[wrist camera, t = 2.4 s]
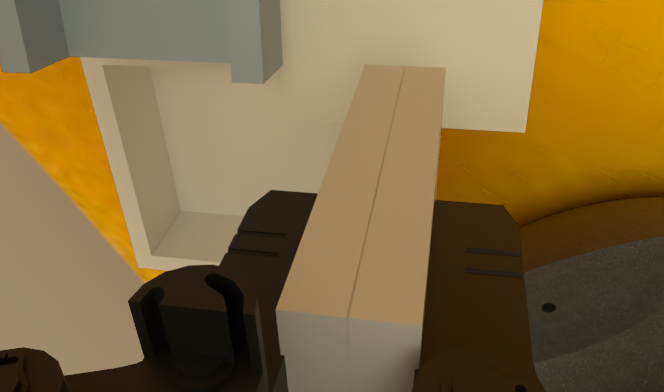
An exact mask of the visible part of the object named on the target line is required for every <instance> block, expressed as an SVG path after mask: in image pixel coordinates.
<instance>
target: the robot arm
mask: <svg viewBox="0 0 664 392" xmlns="http://www.w3.org/2000/svg"><path fill="white" fill-rule="evenodd" d="M445 72H446V68H441V67H416V66H392V65H367V64H365V66H364V69H363V71H362V74H361V77H360V80H359V82H358V85H357V88H356V91H355V93H354V96H353V99H352V102H351V104H350V107H349V110H348V113H347V115H346V118H345V121H344V124H343V126H342V129H341V132H340V134H339V137H338V140H337V143H336V145H335V148H334V151H333V154H332V156H331V159H330V162H329V165H328V167H327V170H326V173H325V176H324V178H323V181H322V184H321V187H320V189H319V192H318V193H306V192H293V191H280V190H270V191H269V192H268V193H266V194H265V195H264V196H263V197H261V198H260V199H259V200H258V201H256V202H255V203H254V204H253V205H251V206H250V207H249V208H248V210H247V212H246V214H245V216H244V218H243V220H242V222H241V224H240V226H239V227H238V229H237V234H235V235H234V237H233V239H232V241H231V243H230V245H229V247H228V253H225V255H224V257H223V259H222V261H221V263H220V265H219V266H217V265H188V266H185V267H181V268H178V269H174V270H171V271H167V272H164V273H162V274H161V275H159V276H157V277H156V278H154V279H152V280H150V281H149V282H147V283H145V284H143V285H142V287H141V288H140V289H139V290H138V291H137V292H136V293H135V294H134V295H133V296H132V297H131V298H130V299H129V301H128V303H129V306H130V310H131V313H132V316H133V320H134V323H135V327H136V330H137V334H138V337H139V340H140V344H141V347H142V351H143V354H144V359H143V361H141V362H139V363H137V364H132V365H128V366H124V367H120V368H114V369H107V370H100V371H94V372H87V373H81V374H73V375H66V376H64V375H63V372H62V370H61V367H60V365H59V362H58V361H57V360H56V359H54V358H53V357H51V356H50V355H48V354H47V353H46V352H45V351H41V350H35V349H30V348H24V347H23V348H16V349H10V350H2V351H0V392H547V391H546V390H545V389H544V387H543V385H542V383H541V382H540V380H539V378H538V376H537V374H536V370H535V367H534V363H533V357H532V347H531V337H530V327H529V317H528V307H527V297H526V287H525V279H524V267H523V257H522V247H521V237H520V228H519V226H518V225H517V224H516V222H515V221H514V220H513V218H512V217H511V216H510V214H509V213H508V212H507V210H506V209H505V208H504V206H503V205H492V204H479V203H466V202H453V201H440V200H436V194H437V181H438V168H439V154H440V140H441V127H442V113H443V99H444V86H445Z"/></svg>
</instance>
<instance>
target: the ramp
mask: <svg viewBox="0 0 664 392" xmlns="http://www.w3.org/2000/svg"><path fill="white" fill-rule="evenodd" d="M542 7H543V0H0V64H1V68H2V72H14V73H32V72H35V71H37V70H39V69H42V68H44V67H46V66H49V65H51V64H53V63H56V62H58V61H60V60H63V59H65V58H67V57H91V58H115V59H140V60H164V61H188V62H212V63H230V67H231V80H232V83H250V84H264V83H265V82H266V81H267V80H268V79H269V78H270V77H271V76H272V75H273V74H274V73H275V72H276V71H277V70H279V69H280V68H281V67H282V66H283V85H284V109H285V119H289V120H307V121H325V122H343V123H344V121H345V118H346V115H347V113H348V110H349V107H350V104H351V102H352V99H353V96H354V93H355V91H356V88H357V85H358V82H359V80H360V77H361V74H362V71H363V69H364V66H365V64H367V65H392V66H416V67H441V68H446V72H445V86H444V99H443V113H442V127H441V128H450V129H467V130H485V131H503V132H521V133H525V131H526V124H527V116H528V109H529V102H530V94H531V87H532V80H533V72H534V65H535V58H536V51H537V43H538V36H539V29H540V21H541V14H542Z"/></svg>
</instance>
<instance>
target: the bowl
mask: <svg viewBox="0 0 664 392" xmlns="http://www.w3.org/2000/svg"><path fill="white" fill-rule="evenodd" d="M519 228H520V237H521V247H522V257H523V267H524V279H525V287H526V297H527V307H528V317H529V327H530V337H531V347H532V357H533V363H534V367H535V370H536V374H537V376H538V378H539V380H540V382H541V383H542V385H543V387H544V389H545V390H546V391H547V392H664V197H648V198H632V199H623V200H614V201H606V202H601V203H595V204H590V205H585V206H581V207H577V208H573V209H569V210H566V211H562V212H559V213H556V214H553V215H550V216H547V217H544V218H541V219H538V220H536V221H533V222H531V223H528V224H526V225H523V226H521V227H519Z"/></svg>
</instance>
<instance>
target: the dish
mask: <svg viewBox="0 0 664 392" xmlns="http://www.w3.org/2000/svg"><path fill="white" fill-rule="evenodd" d="M80 60H81V63H82V67H83V70H84V74H85V78H86V81H87V85H88V88H89V92H90V96H91V99H92V103H93V106H94V110H95V114H96V117H97V121H98V124H99V128H100V131H101V135H102V139H103V142H104V146H105V149H106V153H107V157H108V160H109V164H110V167H111V171H112V175H113V178H114V182H115V185H116V189H117V192H118V196H119V200H120V203H121V207H122V210H123V214H124V218H125V221H126V225H127V228H128V232H129V236H130V239H131V243H132V246H133V250H134V253H135V257H136V261H137V264H138V268H147V269H157V270H166V271H171V270H174V269H178V268H181V267H185V266H188V265H217V266H219V265H220V263H221V261H222V259H223V257H224V255H225V253H228V247H229V245H230V243H231V241H232V239H233V237H234V235H235V234H237V229H238V227H239V226H240V224H241V222H242V220H243V218H244V216H245V214H246V212H247V210H248V208H249V207H250V206H251V205H253V204H254V203H255V202H256V201H258V200H259V199H260V198H261V197H263V196H264V195H265V194H266V193H268V192H269V191H270V190H280V191H293V192H306V193H318V192H319V189H320V187H321V184H322V181H323V178H324V176H325V173H326V170H327V167H328V165H329V162H330V159H331V156H332V154H333V151H334V148H335V145H336V143H337V140H338V137H339V134H340V132H341V129H342V126H343V124H344V123H343V122H325V121H307V120H289V119H285V109H284V85H283V66H282V67H281V68H280V69H279V70H277V71H276V72H275V73H274V74H273V75H272V76H271V77H270V78H269V79H268V80H267V81H266V82H265V83H264V84H250V83H232V80H231V67H230V63H212V62H188V61H164V60H140V59H115V58H91V57H80Z"/></svg>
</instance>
